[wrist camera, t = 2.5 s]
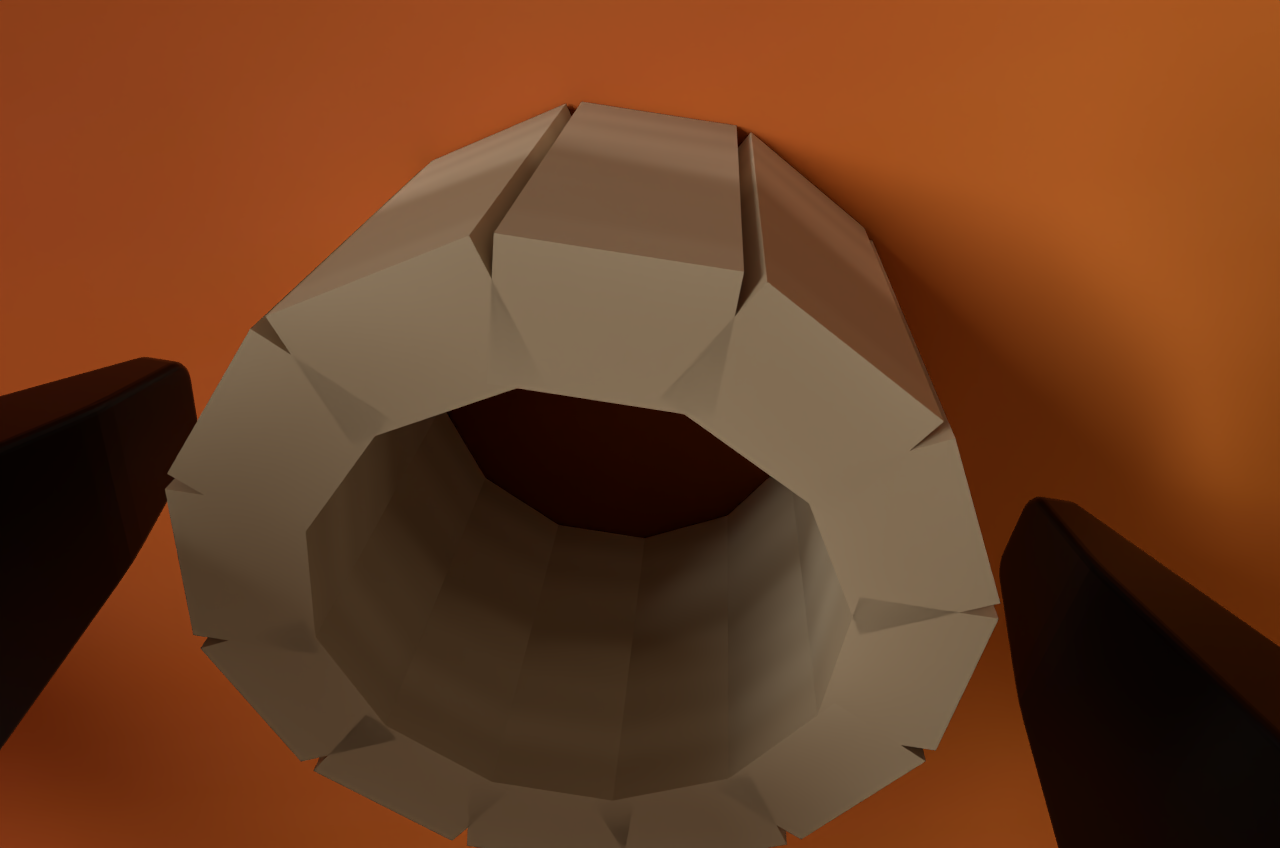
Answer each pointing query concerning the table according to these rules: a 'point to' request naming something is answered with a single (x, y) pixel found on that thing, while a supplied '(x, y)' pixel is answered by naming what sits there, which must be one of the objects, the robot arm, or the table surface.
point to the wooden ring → (580, 558)
